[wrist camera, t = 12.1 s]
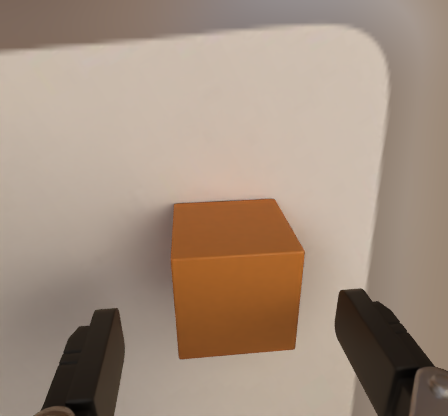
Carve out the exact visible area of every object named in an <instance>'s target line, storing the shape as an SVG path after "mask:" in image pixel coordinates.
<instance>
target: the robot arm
mask: <svg viewBox="0 0 448 416" xmlns="http://www.w3.org/2000/svg"><path fill="white" fill-rule="evenodd" d="M335 332H336V336H337V339H338V341H339V343H340V345H341V346H342V348H343V350H344V352H345V354H346V356H347V358H348V360H349V362H350V363H351V365H352V367H353V369H354V371H355V373H356V375H357V377H358V379H359V381H360V382H361V384H362V386H363V388H364V390H365V392H366V394H367V396H368V398H369V400H370V401H371V403H372V405H373V407H374V409H375V411H376V413H377V414H378V416H448V371H446V370H444V369H441V368H438V367H435V366H434V365H433V364H432V362H431V361H430V360H429V358H428V357H427V356H426V354H425V353H424V352H423V351H422V349H421V348H420V347H419V346H418V345H417V343H416V342H415V340H414V339H413V338H412V337H411V336H410V334H409V333H407V330H406V329H405V328H404V326H403V325H402V324H400V321H399V320H398V319H397V317H396V316H395V315H394V314H393V312H392V311H391V310H390V309H388V308H387V307H385V306H384V305H383V304H381V303H380V302H378V301H376V302H372V300H371V299H370V298H369V296H368V295H367V294H366V292H365V291H364V290H363V289H348V290H341V291H340V292H339V297H338V303H337V310H336V317H335ZM124 355H125V344H124V337H123V331H122V326H121V320H120V314H119V310H118V308H112V309H100V310H95V311H94V314H93V317H92V320H91V323H90V326H81V327H78V329H77V330H76V331H75V332H74V333H73V334H72V335H71V336H70V337H69V339H68V341H67V344H66V347H65V349H64V354H63V355H62V357H61V360H60V362H59V366H58V368H57V370H56V373H55V375H54V378H53V381H52V383H51V386H50V389H49V391H48V394H47V396H46V399H45V402H44V404H43V407H42V409H41V411H40V412H38V413H37V414H35V415H34V416H114V412H115V407H116V401H117V396H118V390H119V385H120V379H121V373H122V368H123V362H124Z"/></svg>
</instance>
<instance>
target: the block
mask: <svg viewBox="0 0 448 416" xmlns="http://www.w3.org/2000/svg"><path fill="white" fill-rule="evenodd" d="M304 254H305V251H304V249H303V247H302V246H301V244H300V242H299V241H298V239H297V237H296V235H295V234H294V232H293V230H292V228H291V227H290V225H289V223H288V221H287V220H286V218H285V216H284V215H283V213H282V211H281V209H280V208H279V206H278V204H277V202H276V201H275V199H262V200H242V201H221V202H201V203H181V204H174V213H173V230H172V246H171V270H172V282H173V294H174V306H175V318H176V329H177V341H178V353H179V358H180V359H191V358H202V357H213V356H225V355H236V354H248V353H259V352H271V351H282V350H293V349H295V344H296V334H297V324H298V314H299V304H300V294H301V284H302V274H303V264H304Z"/></svg>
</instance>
